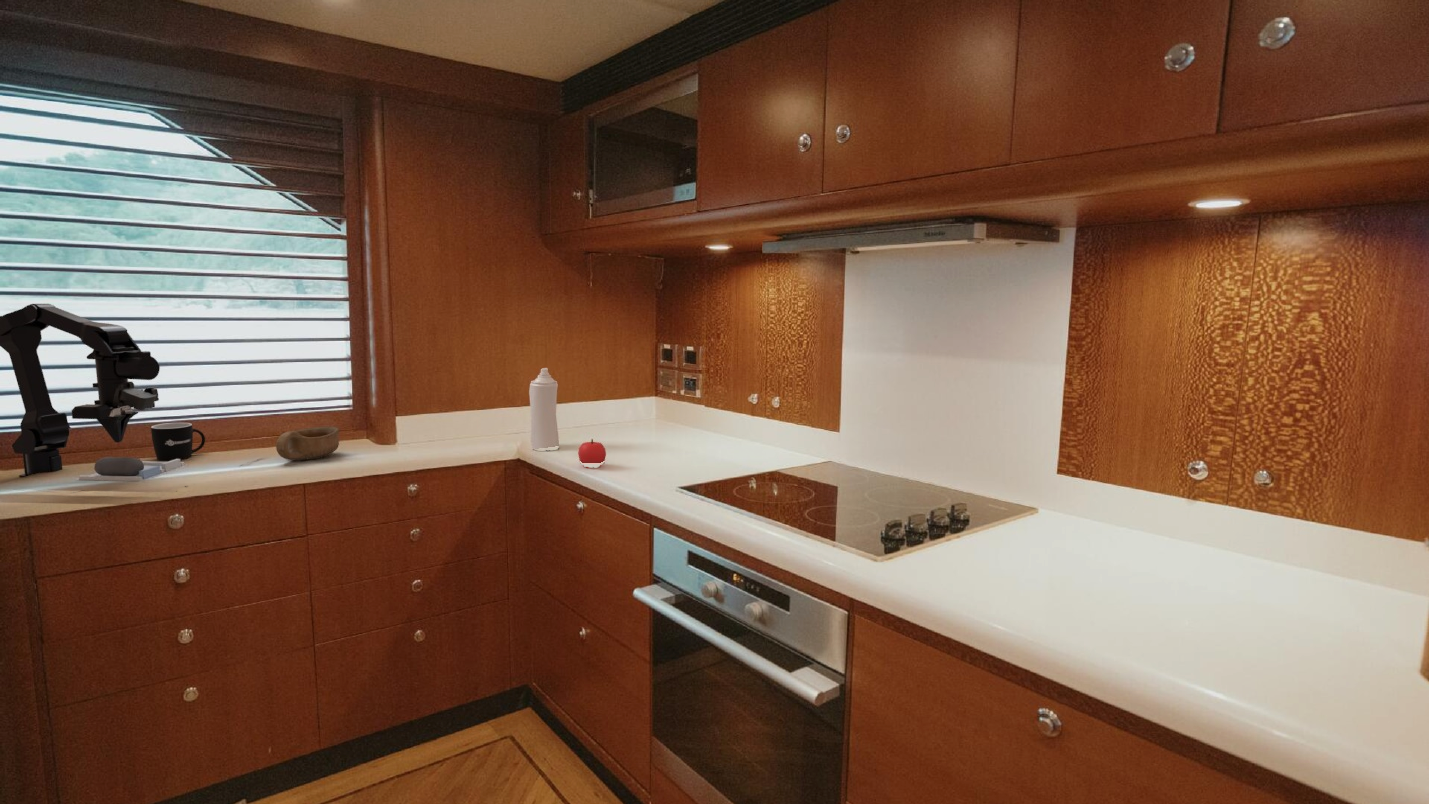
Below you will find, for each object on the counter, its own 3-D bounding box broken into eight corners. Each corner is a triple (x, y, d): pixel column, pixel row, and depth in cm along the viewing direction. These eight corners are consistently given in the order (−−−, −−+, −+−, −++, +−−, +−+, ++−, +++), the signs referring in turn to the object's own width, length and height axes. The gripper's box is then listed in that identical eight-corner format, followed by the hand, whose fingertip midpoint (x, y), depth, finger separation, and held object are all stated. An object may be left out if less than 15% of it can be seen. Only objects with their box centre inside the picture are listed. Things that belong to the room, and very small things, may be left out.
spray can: (518, 447, 229) (518, 368, 226) (542, 442, 239) (542, 366, 235) (546, 452, 224) (546, 371, 220) (569, 446, 233) (569, 368, 229)
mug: (161, 467, 192) (158, 429, 191) (148, 462, 197) (145, 425, 196) (213, 460, 202) (210, 423, 200) (199, 455, 207) (196, 419, 206)
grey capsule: (91, 478, 176) (87, 460, 175) (105, 472, 181) (102, 454, 180) (136, 479, 177) (133, 461, 176) (149, 473, 181) (147, 455, 180)
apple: (608, 463, 212) (608, 436, 211) (603, 470, 204) (603, 442, 203) (580, 463, 212) (581, 435, 211) (575, 469, 204) (575, 441, 203)
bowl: (319, 462, 198) (307, 427, 196) (271, 474, 199) (259, 439, 197) (354, 447, 215) (343, 415, 214) (310, 459, 216) (298, 426, 215)
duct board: (75, 484, 175) (73, 471, 174) (125, 468, 190) (124, 456, 190) (144, 485, 175) (143, 472, 175) (189, 469, 191) (188, 457, 191)
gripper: (117, 383, 166) (123, 451, 169) (174, 374, 185) (179, 435, 187) (66, 382, 166) (73, 450, 168) (128, 373, 184) (134, 434, 187)
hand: (118, 442), depth 178 cm, fingers closed
